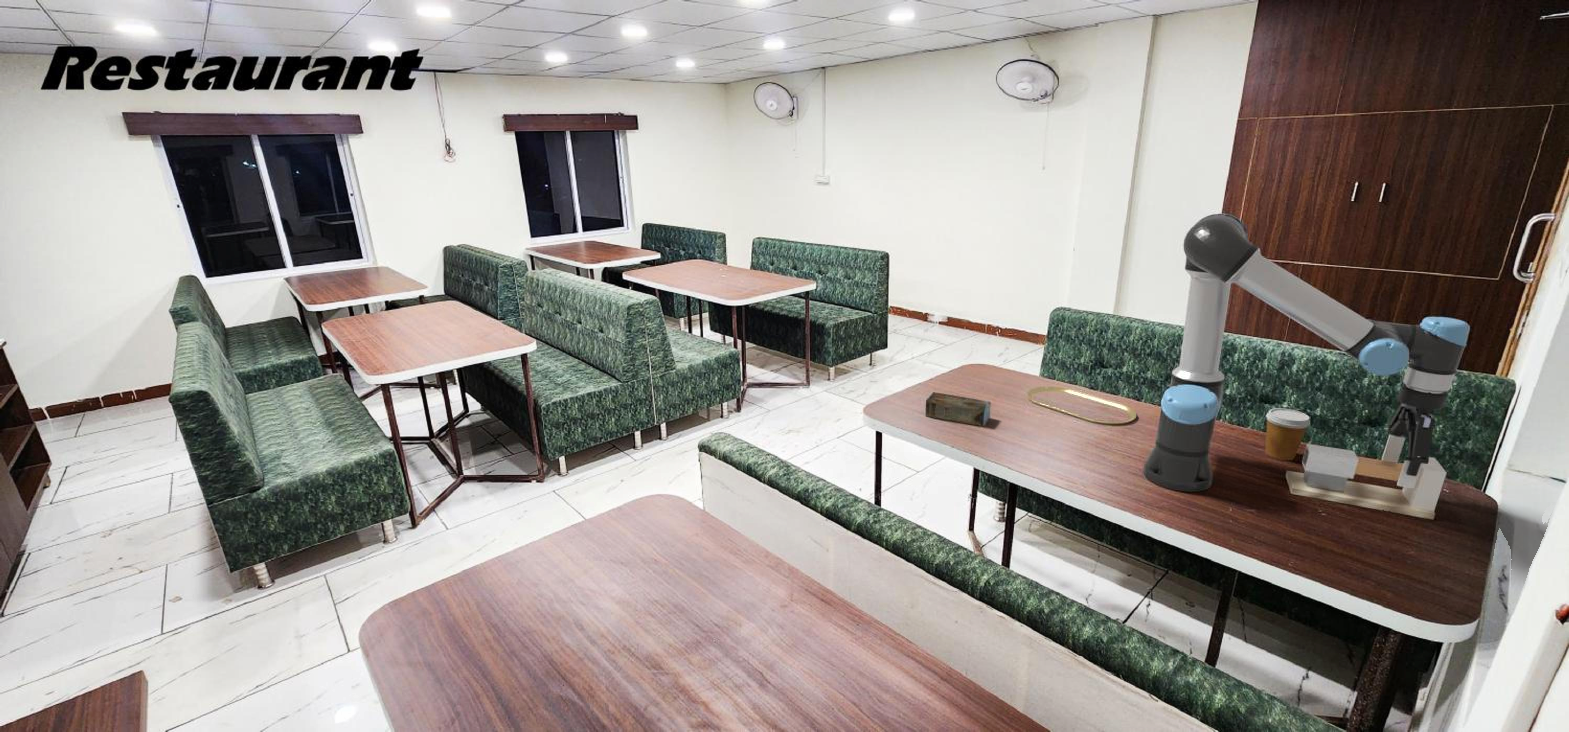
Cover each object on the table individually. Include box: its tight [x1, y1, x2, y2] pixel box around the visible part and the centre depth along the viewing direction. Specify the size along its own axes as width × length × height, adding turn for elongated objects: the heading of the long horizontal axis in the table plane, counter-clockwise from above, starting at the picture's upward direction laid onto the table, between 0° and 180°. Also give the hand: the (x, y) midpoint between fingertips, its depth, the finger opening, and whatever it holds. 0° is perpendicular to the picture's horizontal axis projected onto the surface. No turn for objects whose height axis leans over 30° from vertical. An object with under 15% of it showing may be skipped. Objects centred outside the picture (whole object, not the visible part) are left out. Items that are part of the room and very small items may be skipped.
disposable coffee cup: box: [1264, 407, 1311, 461], centre depth 173 cm, size 10×10×12 cm
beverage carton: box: [925, 391, 992, 427], centre depth 206 cm, size 8×19×7 cm, turn 60°
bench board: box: [1285, 470, 1436, 520], centre depth 154 cm, size 26×10×2 cm, turn 60°
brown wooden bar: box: [1354, 456, 1404, 482], centre depth 150 cm, size 15×3×3 cm, turn 60°
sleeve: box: [1301, 443, 1358, 493], centre depth 155 cm, size 9×5×9 cm, turn 60°
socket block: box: [1401, 456, 1447, 513], centre depth 147 cm, size 4×8×10 cm, turn 150°
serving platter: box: [1026, 386, 1137, 426], centre depth 212 cm, size 19×35×2 cm, turn 35°
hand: (1396, 473), depth 149 cm, fingers open, 13 cm apart
